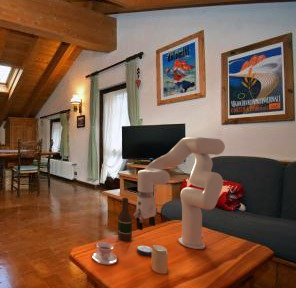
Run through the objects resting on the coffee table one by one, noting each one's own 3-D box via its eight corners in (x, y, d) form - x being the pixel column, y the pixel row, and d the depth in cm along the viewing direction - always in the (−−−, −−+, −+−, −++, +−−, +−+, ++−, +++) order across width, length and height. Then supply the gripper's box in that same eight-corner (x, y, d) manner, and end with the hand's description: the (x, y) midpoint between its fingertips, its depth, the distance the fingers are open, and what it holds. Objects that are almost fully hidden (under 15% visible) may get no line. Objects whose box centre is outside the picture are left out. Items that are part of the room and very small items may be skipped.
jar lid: (136, 253, 110) (136, 249, 110) (139, 247, 116) (139, 244, 116) (150, 257, 107) (150, 253, 107) (152, 251, 112) (153, 247, 112)
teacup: (119, 255, 108) (119, 243, 108) (114, 267, 97) (115, 254, 97) (95, 250, 113) (95, 238, 113) (89, 261, 103) (89, 248, 102)
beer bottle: (132, 242, 122) (133, 200, 122) (118, 241, 124) (118, 199, 123) (130, 236, 130) (131, 197, 129) (117, 235, 131) (117, 196, 131)
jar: (155, 263, 101) (155, 243, 101) (170, 269, 96) (170, 248, 96) (148, 268, 97) (148, 247, 97) (163, 275, 92) (164, 253, 92)
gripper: (140, 198, 103) (140, 233, 104) (162, 193, 112) (163, 225, 113) (128, 195, 110) (128, 228, 110) (150, 190, 119) (150, 221, 119)
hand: (146, 227), depth 111 cm, fingers open, 9 cm apart
